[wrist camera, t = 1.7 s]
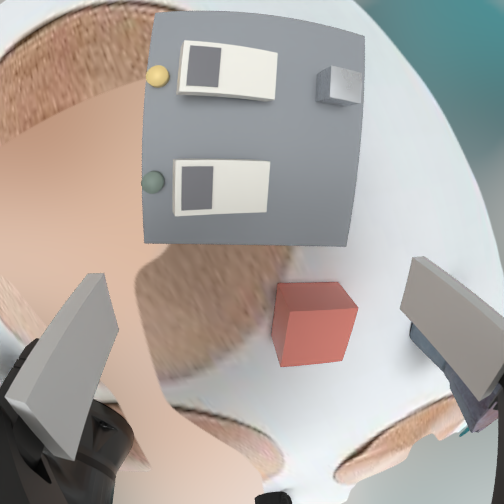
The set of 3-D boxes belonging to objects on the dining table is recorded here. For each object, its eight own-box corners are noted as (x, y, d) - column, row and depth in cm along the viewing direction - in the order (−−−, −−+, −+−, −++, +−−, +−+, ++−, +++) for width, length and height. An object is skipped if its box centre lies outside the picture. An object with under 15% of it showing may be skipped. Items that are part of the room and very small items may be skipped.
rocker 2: (172, 211, 19) (175, 217, 18) (173, 158, 18) (175, 160, 16) (258, 207, 21) (267, 212, 20) (261, 159, 20) (271, 161, 19)
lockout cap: (271, 335, 30) (280, 367, 25) (277, 283, 28) (289, 311, 23) (326, 331, 31) (342, 360, 26) (337, 281, 28) (358, 307, 24)
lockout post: (315, 101, 19) (329, 96, 17) (316, 73, 18) (331, 65, 16) (343, 106, 20) (360, 103, 17) (344, 79, 19) (362, 73, 16)
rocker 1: (176, 94, 16) (179, 91, 15) (180, 46, 15) (184, 39, 13) (266, 101, 18) (275, 99, 17) (269, 57, 17) (278, 52, 16)
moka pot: (398, 366, 36) (464, 466, 18) (413, 278, 30) (528, 388, 11) (445, 345, 36) (513, 427, 18) (464, 259, 30) (569, 340, 12)
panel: (150, 233, 24) (141, 248, 21) (160, 23, 17) (152, 7, 14) (335, 237, 27) (351, 251, 23) (352, 43, 20) (370, 32, 16)
